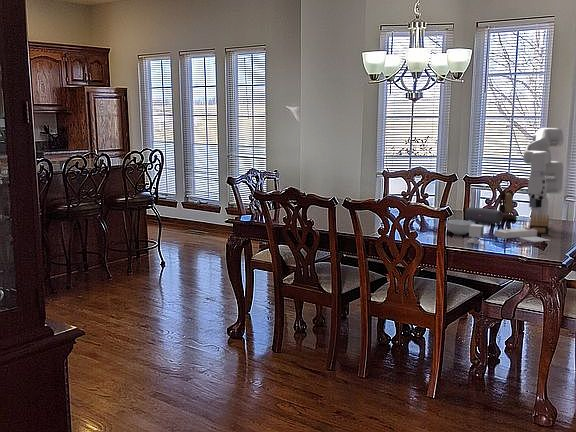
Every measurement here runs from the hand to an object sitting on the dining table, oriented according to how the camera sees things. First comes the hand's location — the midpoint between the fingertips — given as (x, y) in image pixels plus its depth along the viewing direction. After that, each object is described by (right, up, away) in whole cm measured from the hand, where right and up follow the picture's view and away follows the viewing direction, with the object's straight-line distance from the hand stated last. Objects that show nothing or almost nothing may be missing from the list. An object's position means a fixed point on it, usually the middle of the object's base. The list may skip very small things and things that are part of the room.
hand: (535, 206), depth 336 cm
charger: (0, -2, 0) cm, 2 cm away
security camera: (-36, -21, -7) cm, 42 cm away
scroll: (+10, -8, +73) cm, 75 cm away
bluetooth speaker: (-10, -11, +59) cm, 60 cm away
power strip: (-6, -17, +14) cm, 23 cm away
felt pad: (+1, -19, +2) cm, 19 cm away
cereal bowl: (-37, -16, +21) cm, 45 cm away
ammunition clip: (+11, -17, +21) cm, 29 cm away
